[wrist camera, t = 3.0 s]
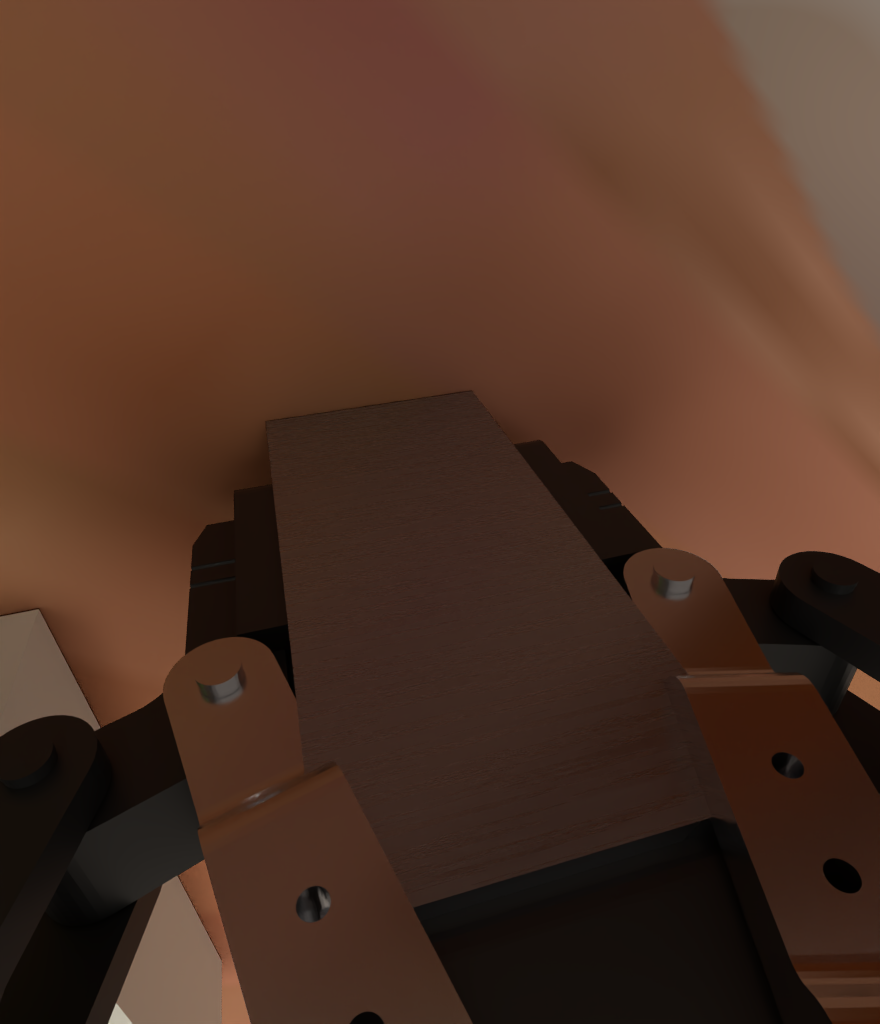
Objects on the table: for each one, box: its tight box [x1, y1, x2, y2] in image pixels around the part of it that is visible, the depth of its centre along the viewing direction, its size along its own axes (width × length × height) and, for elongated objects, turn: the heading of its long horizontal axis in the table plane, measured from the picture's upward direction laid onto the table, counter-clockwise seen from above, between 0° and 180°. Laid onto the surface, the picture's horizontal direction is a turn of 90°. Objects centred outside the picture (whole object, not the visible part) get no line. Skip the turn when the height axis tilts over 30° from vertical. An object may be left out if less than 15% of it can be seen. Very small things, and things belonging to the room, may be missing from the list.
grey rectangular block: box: [266, 391, 714, 921], centre depth 11 cm, size 6×4×9 cm, turn 3°
